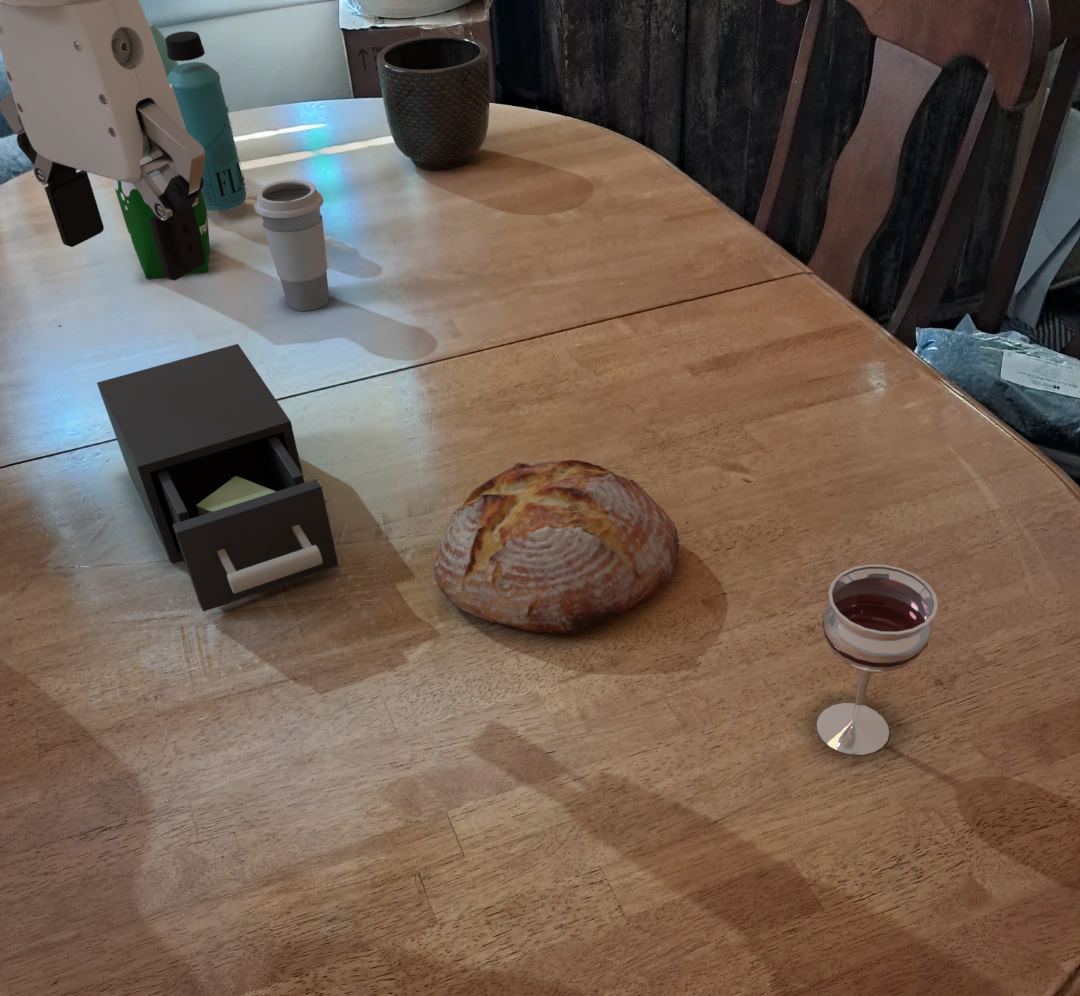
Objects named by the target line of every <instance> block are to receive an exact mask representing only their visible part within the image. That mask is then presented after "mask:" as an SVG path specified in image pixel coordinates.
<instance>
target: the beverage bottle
mask: <svg viewBox="0 0 1080 996" xmlns="http://www.w3.org/2000/svg"><path fill="white" fill-rule="evenodd" d="M165 41H166V46H167V54H168V58H169V59H171V60H174V61H177V62H185V63H181V64H178V66H176V67H174V68H173V69H172V70H171V72H170V73H169V75H168V77H167V78H168V82H169V84H172V86H173V89H174V93H175V96H176V99H177V102H178V105H179V108H180V111H181V115H182V118H183V121H184V124H185V127H186V130H187V133H188V134H190V135H191V136H192V137H193V138H194V139H195V140H197V141H198V142H199V143H200V144H201V145H202V146H203V148H204V150H205V153H206V157H205V164H204V171H203V176H202V178H203V182H204V185H203V188H202V194H203V198H204V202H205V206H206V210H207V211H214V212H215V211H217V212H218V211H226V210H231V209H234V208H237V207H239V206H241V205H243V204H244V203H245V202H246V199H247V191H248V189H247V187H246V182H245V177H244V172H243V171H242V168H243V167H242V166H241V165H242V164H241V159H240V157H239V156H238V150H237V148H238V146H237V145H236V141H235V139H234V135H233V134H234V131H233V128H232V126H233V124H232V122H231V120H230V115H229V114H230V111H229V107H228V105H227V103H226V96H225V95H224V92H223V87H222V84H221V83H222V82H221V77H220V74H219V72H218V71H217V70H216V69H215V68H213V67H212V66H211V65H209V64H207V63H205V62H200V61H192V60H197V59H199V58H201V57H203V56H204V55H205V53H206V52H205V47H204V46H203V43H202V39H201V37H200V34H199V33H198V32H196V31H193V30H192V31H191V30H189V31H188V30H186V31H184V30H183V31H178V32H173V33H171V34H169V35H167V36H166V37H165ZM187 61H190V62H187Z"/></svg>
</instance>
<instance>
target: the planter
mask: <svg viewBox="0 0 1080 996" xmlns="http://www.w3.org/2000/svg"><path fill="white" fill-rule="evenodd" d="M376 59H377V60H376V62H377V63H376V65H377V71H378V72H377V73H378V77H379V84H380V91H381V97H382V100H383V101H382V102H383V106H384V111H385V117H386V121H387V124H388V128H389V131H390V135H391V137H392V140H393V142H394V144H395V146H396V147H397V149H398V150H399V151H400V153H402V154H403V155H404V156H406V157H407V158H409V159H410V161H411V162H412V163H413V165H414V166H416V167H417V168H419V169H421V170H424V171H431V172H448V171H453V170H457V169H460V168H462V167H465V166H467V165H468V164H469V163H470V162H471V161H472V160H473V158H474V156H475V153H477V152H478V151H479V150H480V149H481V147H482V146H483V144H484V142H485V140H486V138H487V133H488V129H489V123H490V122H489V121H490V63H489V52H488V49H487V46H486V45H485V44H483V43H482V42H481V41H479V40H477V39H474V38H470V37H466V36H460V35H449V34H448V35H447V34H442V35H441V34H438V35H437V34H436V35H424V36H416V37H412V38H407V39H403V40H400V41H397V42H393V43H392V44H390V45H387V46H385V47H384V48H383V49H381V51H380V52H379V53H378V54H377V57H376Z"/></svg>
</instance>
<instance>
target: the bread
mask: <svg viewBox="0 0 1080 996" xmlns="http://www.w3.org/2000/svg"><path fill="white" fill-rule="evenodd" d="M679 543H680V538H679V535H678V529H677V526H676V525H675V521H674V520H673V519H672V518H671V517H670V516H669V515H668V514H667V512H666V511H665V510H664V508H663V507H662V506H661V505H660V504H659V503H658V502H656V500H655V499H654V498H652V497H651V496H650V494H648V492H647V491H646V490H645V489H644V488H643V487H641V486H640V485H639V483H638V482H636V481H635V480H634V479H629V478H627V477H624V476H621V475H618V474H615V473H613V472H612V471H611V470H610V469H607V468H604V467H602V466H600V465H598V464H594V463H591V462H588V461H584V460H579V459H564V460H563V459H558V460H557V459H556V460H549V461H537V462H532V461H531V462H523V461H518V462H516V463H515V464H513V465H510V466H509V467H507V468H506V469H505V470H503V471H501V472H500V473H499V474H497V475H494V476H492V477H491V478H489V479H486V480H485V481H484V482H483V483H482V484H480V485H479V486H477V487H476V488H475V489H474V490H471V492H470V493H469V494H468V495H467V497H466V498H465V499H464V500H463V503H462V504H461V505H460V507H459V508H457V509H456V510H455V511H454V512H452V514H451V518H450V520H449V522H448V523H447V526H446V528H445V529H444V531H443V533H442V535H441V537H440V539H439V542H438V545H437V548H436V553H435V556H434V557H435V558H434V562H433V570H434V578H435V582H436V584H437V586H438V588H439V589H440V591H441V592H442V593H443V594H444V595H445V596H446V597H447V599H448V600H449V601H450V602H451V603H452V604H453V605H454V606H455V607H456V608H458V609H460V610H462V611H463V612H466V613H468V614H470V615H471V616H474V617H476V618H478V619H481V620H485V621H486V622H487V621H488V622H491V623H494V624H498V625H499V624H500V625H504V626H506V627H512V628H516V629H520V630H523V631H524V630H525V631H527V632H532V633H548V634H549V633H551V634H567V635H568V634H569V635H581V634H583V633H585V632H587V631H589V630H591V629H593V628H595V627H599V626H600V625H601V626H602V625H603V624H607V623H609V622H611V621H612V620H615V619H617V618H618V617H620V616H622V615H624V614H626V613H627V612H630V610H631V609H633V608H634V607H637V605H640V604H641V603H643V602H644V601H645V600H646V599H647V598H649V597H650V596H652V595H653V594H654V593H655V591H656V590H657V588H658V587H660V586H661V585H664V584H665V583H666V582H667V581H668V580H669V579H670V577H671V576H672V575H673V573H674V571H675V562H676V559H677V558H678V556H679V552H680V551H679V548H680V544H679Z"/></svg>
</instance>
